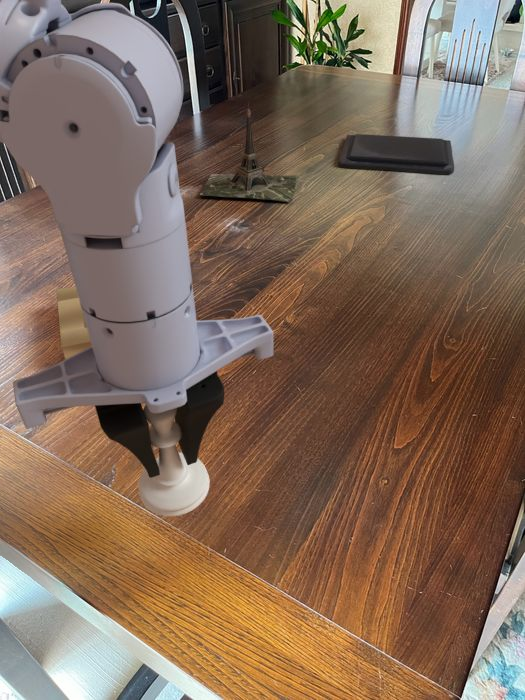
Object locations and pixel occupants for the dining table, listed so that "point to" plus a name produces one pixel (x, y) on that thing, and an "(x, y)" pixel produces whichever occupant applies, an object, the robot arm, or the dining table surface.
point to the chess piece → (171, 471)
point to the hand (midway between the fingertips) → (169, 459)
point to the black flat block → (397, 154)
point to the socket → (71, 322)
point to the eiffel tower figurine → (250, 178)
